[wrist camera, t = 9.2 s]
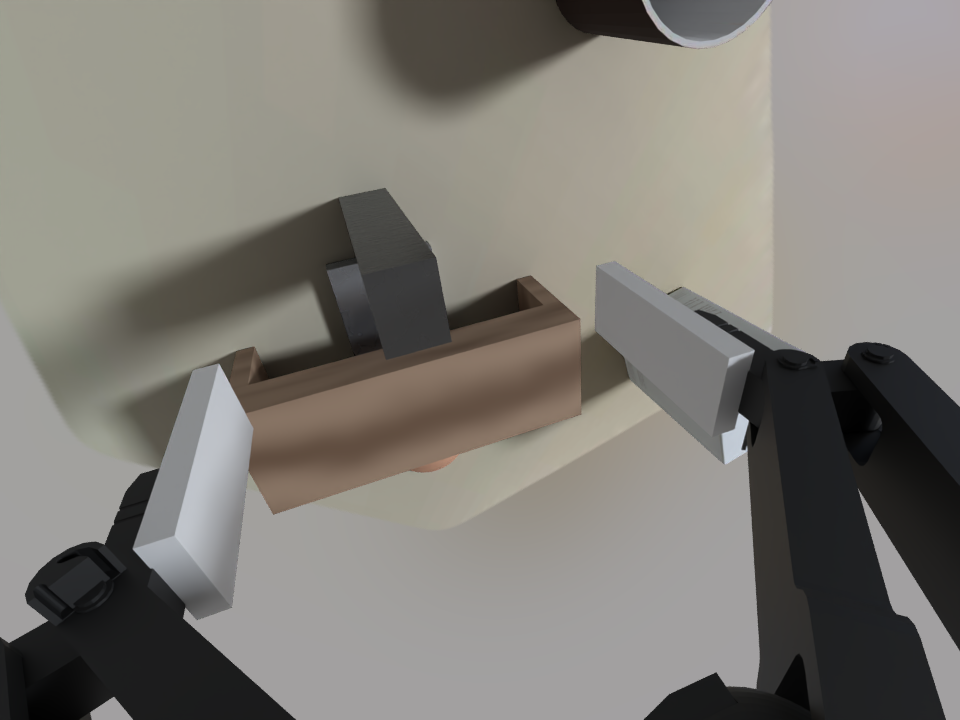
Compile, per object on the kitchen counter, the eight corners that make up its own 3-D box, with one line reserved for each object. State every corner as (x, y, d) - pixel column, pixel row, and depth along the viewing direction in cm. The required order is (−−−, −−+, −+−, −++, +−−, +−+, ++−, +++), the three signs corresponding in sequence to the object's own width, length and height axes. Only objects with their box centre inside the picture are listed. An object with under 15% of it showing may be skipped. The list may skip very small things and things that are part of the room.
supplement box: (627, 380, 46) (721, 469, 36) (614, 320, 42) (716, 401, 31) (692, 346, 46) (804, 423, 36) (686, 283, 42) (810, 350, 32)
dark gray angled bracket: (306, 204, 29) (309, 287, 18) (415, 181, 31) (483, 245, 19) (378, 427, 39) (410, 570, 28) (458, 402, 41) (519, 530, 29)
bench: (236, 351, 33) (220, 420, 26) (530, 275, 37) (580, 319, 30) (277, 436, 37) (273, 514, 30) (536, 360, 41) (581, 414, 35)
